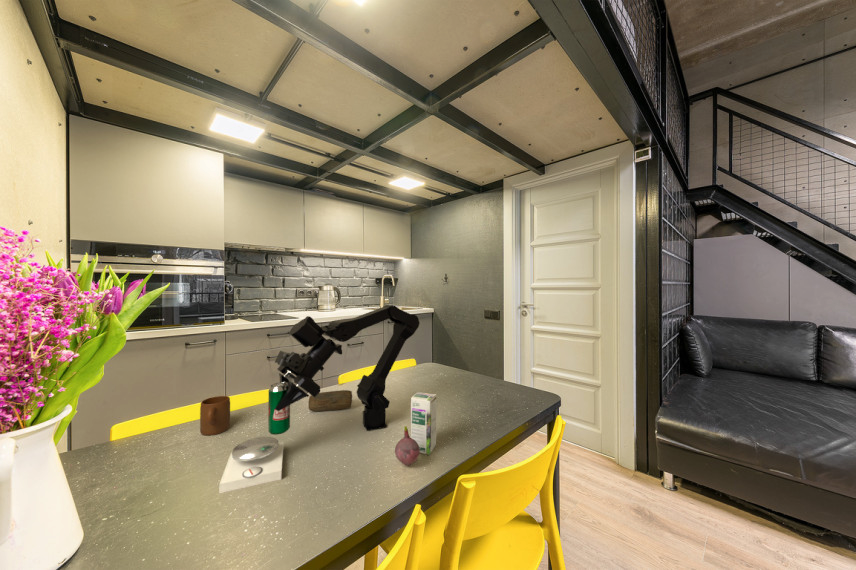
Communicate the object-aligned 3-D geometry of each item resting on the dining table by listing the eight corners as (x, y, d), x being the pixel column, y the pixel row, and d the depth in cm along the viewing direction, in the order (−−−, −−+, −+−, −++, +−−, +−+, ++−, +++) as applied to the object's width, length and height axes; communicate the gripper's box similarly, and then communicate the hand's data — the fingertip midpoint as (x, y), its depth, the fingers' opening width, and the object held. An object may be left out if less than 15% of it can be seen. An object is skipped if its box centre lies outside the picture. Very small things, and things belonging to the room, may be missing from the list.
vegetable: (396, 458, 79) (396, 419, 79) (420, 459, 79) (420, 420, 79) (393, 472, 73) (393, 431, 73) (418, 473, 72) (419, 431, 73)
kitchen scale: (283, 449, 83) (283, 440, 83) (281, 479, 70) (281, 469, 70) (231, 459, 78) (231, 450, 78) (219, 494, 65) (219, 482, 65)
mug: (225, 439, 88) (225, 407, 88) (193, 445, 85) (193, 411, 85) (231, 423, 99) (232, 394, 99) (203, 427, 96) (203, 397, 96)
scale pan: (279, 440, 82) (279, 433, 82) (277, 459, 73) (277, 452, 73) (235, 448, 78) (235, 441, 78) (228, 469, 69) (228, 461, 69)
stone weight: (351, 404, 116) (352, 386, 116) (352, 411, 109) (352, 392, 109) (309, 408, 112) (310, 389, 112) (307, 415, 105) (308, 396, 105)
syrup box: (409, 451, 82) (410, 397, 82) (418, 441, 88) (418, 390, 88) (429, 455, 80) (429, 400, 80) (436, 444, 86) (437, 393, 86)
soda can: (273, 437, 75) (273, 389, 76) (264, 431, 79) (265, 385, 79) (293, 430, 79) (293, 384, 79) (284, 424, 83) (284, 380, 83)
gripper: (285, 335, 89) (241, 380, 81) (307, 344, 75) (257, 400, 67) (312, 358, 94) (273, 402, 87) (338, 370, 80) (294, 425, 72)
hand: (273, 406), depth 78 cm, fingers closed on soda can, 5 cm apart
